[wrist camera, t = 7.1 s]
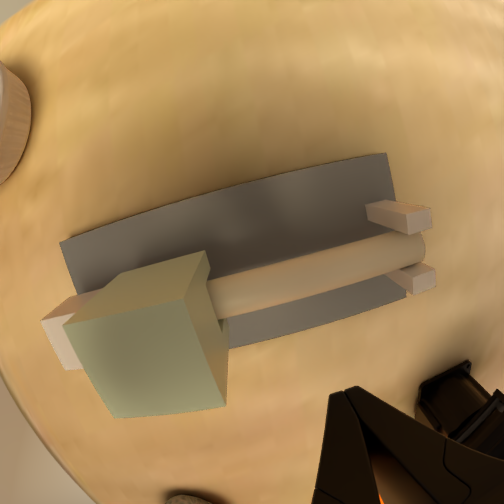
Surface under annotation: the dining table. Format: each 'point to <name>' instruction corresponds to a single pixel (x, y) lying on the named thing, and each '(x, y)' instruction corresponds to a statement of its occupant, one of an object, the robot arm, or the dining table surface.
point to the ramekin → (12, 120)
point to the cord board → (269, 250)
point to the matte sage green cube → (154, 340)
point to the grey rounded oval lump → (186, 500)
